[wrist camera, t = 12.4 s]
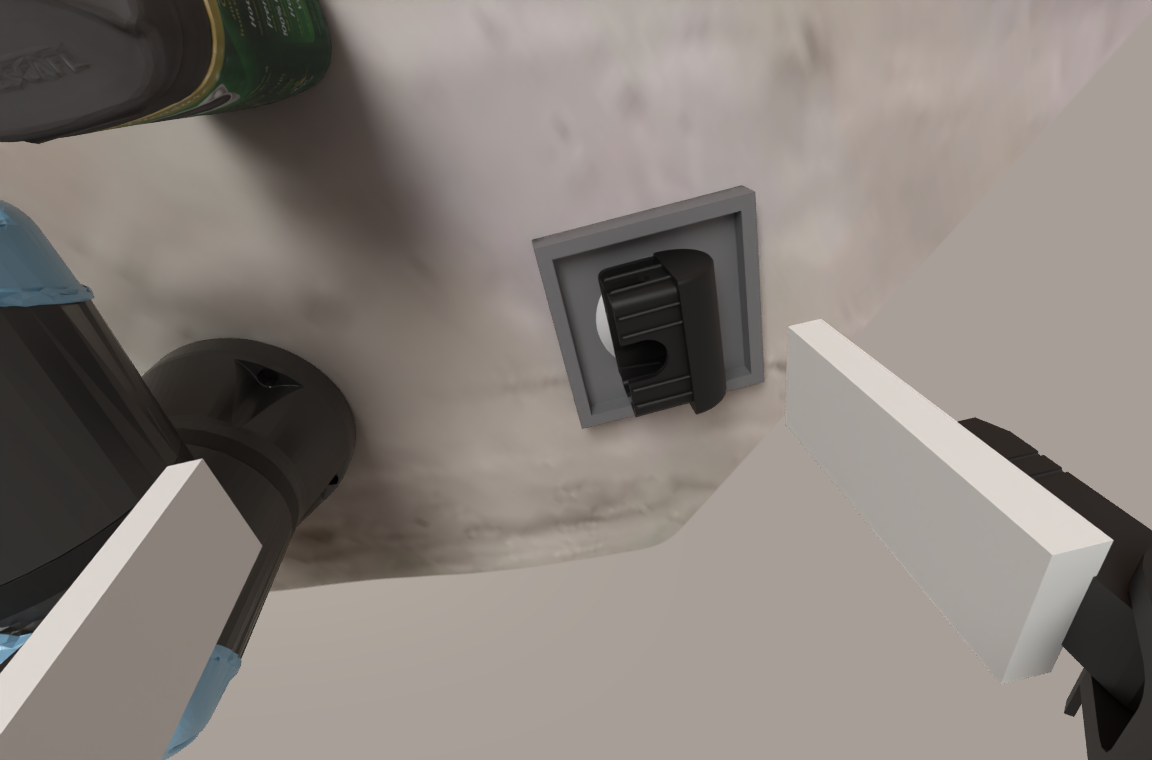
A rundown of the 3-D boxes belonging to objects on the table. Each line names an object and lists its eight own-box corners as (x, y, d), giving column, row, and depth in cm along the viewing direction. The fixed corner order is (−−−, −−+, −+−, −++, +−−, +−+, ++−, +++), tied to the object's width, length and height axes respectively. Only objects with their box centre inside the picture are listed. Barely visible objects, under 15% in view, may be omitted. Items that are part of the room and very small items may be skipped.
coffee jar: (284, -93, 28) (-3, -310, 12) (354, 79, 32) (211, 93, 16) (103, -40, 28) (-424, -182, 12) (196, 125, 32) (-105, 185, 16)
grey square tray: (578, 413, 45) (582, 428, 43) (531, 239, 38) (533, 249, 36) (753, 368, 45) (764, 381, 43) (742, 185, 38) (755, 191, 36)
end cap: (707, 359, 43) (740, 404, 37) (620, 382, 43) (640, 431, 37) (692, 237, 38) (728, 268, 32) (594, 264, 38) (612, 299, 32)
